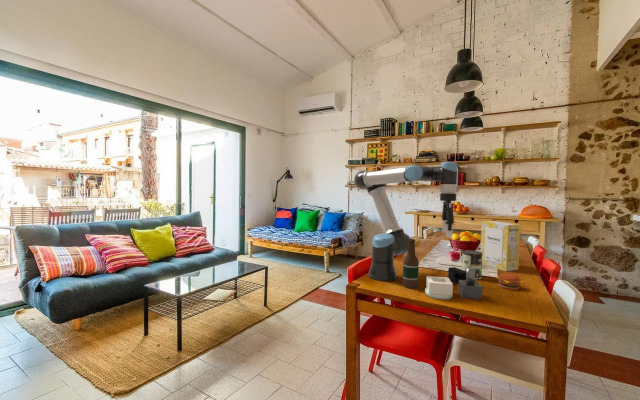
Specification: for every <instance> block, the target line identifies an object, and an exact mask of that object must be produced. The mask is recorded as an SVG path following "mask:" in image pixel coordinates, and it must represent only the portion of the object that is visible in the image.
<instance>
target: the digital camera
mask: <svg viewBox="0 0 640 400" xmlns="http://www.w3.org/2000/svg"><path fill="white" fill-rule="evenodd" d="M447 274H448V275H447V278H449V280H450V281H451V282H452V284H455V285H458V286H459V280H466V271H464V270H462V268H461V269H460V268H458V267H455V266H451V267H448V271H447Z"/></svg>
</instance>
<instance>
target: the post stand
mask: <svg viewBox="0 0 640 400" xmlns="http://www.w3.org/2000/svg"><path fill="white" fill-rule="evenodd" d="M457 289H458V294H459V296H460V297H461V298H462V299H465V298H467V299H466V300H468V299H469V300H478V301H479V300H481V301H482V299H483V286H482V285H481V284H480V283H479V282H478V281H477V280H476V279H475V268H471V267H467V268H466V280H459V285H458V288H457Z"/></svg>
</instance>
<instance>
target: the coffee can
mask: <svg viewBox="0 0 640 400" xmlns="http://www.w3.org/2000/svg"><path fill="white" fill-rule="evenodd" d="M482 254H483V253H482V252H481V251H480V250H479V251H478V250H472V249H471V250H470V249H465V250H462V251H461V255H462V256H461V270H464V271H466V268H467V267H471V268H475V280H481V279H482V275H483V273H482V269H483V264H482Z"/></svg>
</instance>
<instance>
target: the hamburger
mask: <svg viewBox="0 0 640 400" xmlns="http://www.w3.org/2000/svg"><path fill="white" fill-rule="evenodd" d="M495 278H496V279H498V287H499V288H502V289H505V290H509V291H518V290H520V284H524V281H523V280H521V279H520V277H518V276H517V275H515V274H511V273H501V274H499V275H498V276H497V277H495Z"/></svg>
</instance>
